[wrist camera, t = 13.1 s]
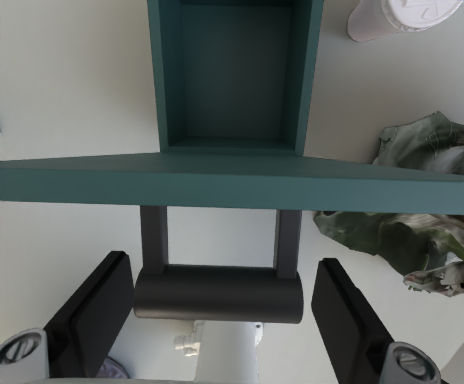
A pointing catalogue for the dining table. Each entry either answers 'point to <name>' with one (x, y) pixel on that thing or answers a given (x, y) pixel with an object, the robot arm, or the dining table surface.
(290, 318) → the bin lid
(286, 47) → the bin
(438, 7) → the smoothie
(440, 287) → the rose bouquet
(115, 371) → the decorative urn
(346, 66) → the dining table surface
